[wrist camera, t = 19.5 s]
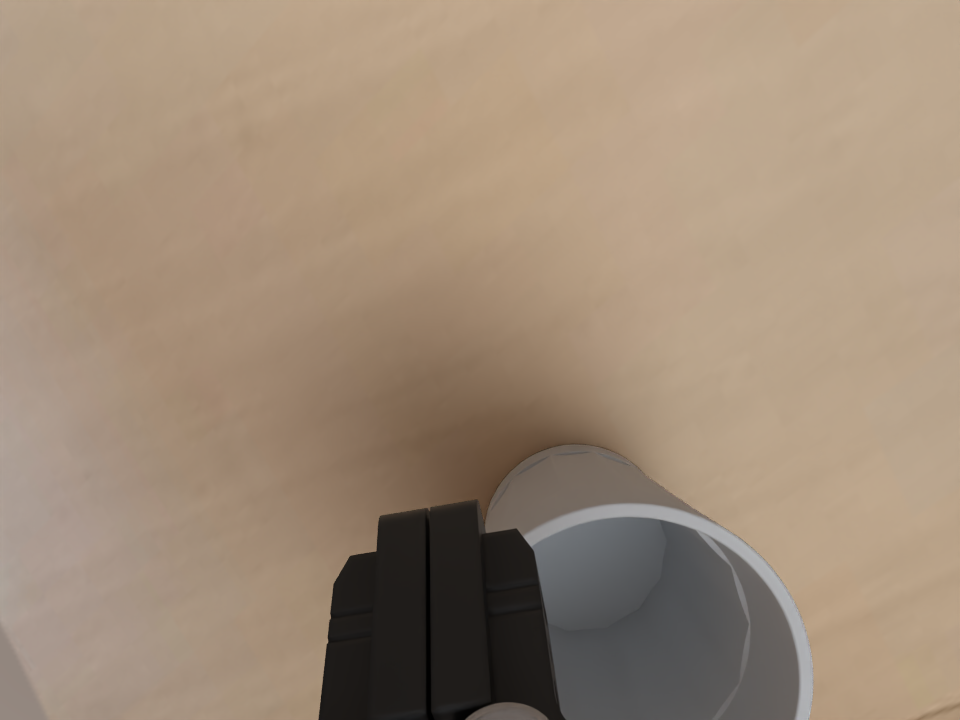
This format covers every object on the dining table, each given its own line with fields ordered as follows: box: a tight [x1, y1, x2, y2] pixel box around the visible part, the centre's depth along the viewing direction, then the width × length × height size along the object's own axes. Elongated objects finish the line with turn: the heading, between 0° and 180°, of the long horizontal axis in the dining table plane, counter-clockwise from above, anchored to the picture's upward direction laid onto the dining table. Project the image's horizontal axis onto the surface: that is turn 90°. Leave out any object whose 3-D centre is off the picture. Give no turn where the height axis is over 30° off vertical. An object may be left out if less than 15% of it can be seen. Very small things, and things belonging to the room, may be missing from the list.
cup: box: [485, 444, 813, 720], centre depth 26 cm, size 8×8×12 cm
